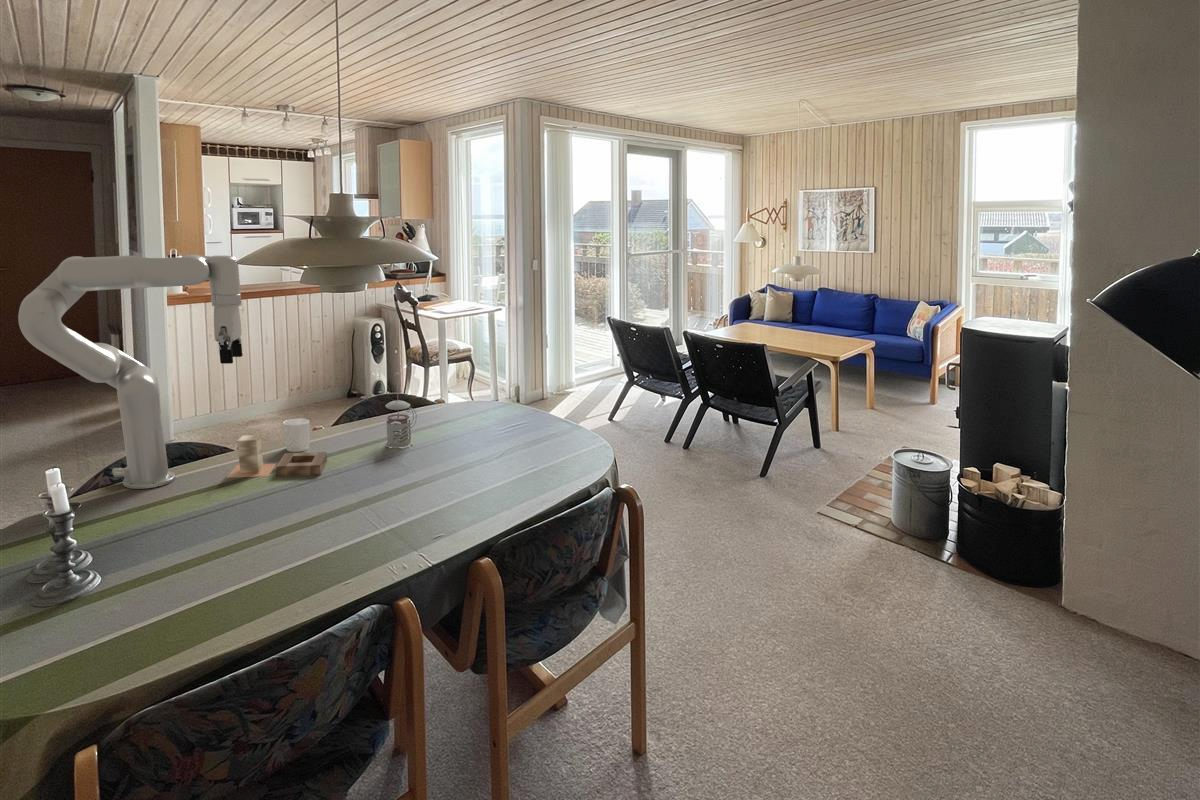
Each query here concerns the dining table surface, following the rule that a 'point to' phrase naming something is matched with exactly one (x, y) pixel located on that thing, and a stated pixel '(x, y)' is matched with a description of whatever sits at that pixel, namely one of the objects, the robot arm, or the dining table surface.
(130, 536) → the dining table surface
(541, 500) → the dining table surface
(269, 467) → the terracotta tile
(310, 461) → the walnut holder
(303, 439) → the white cup
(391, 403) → the french press
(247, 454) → the birch peg
